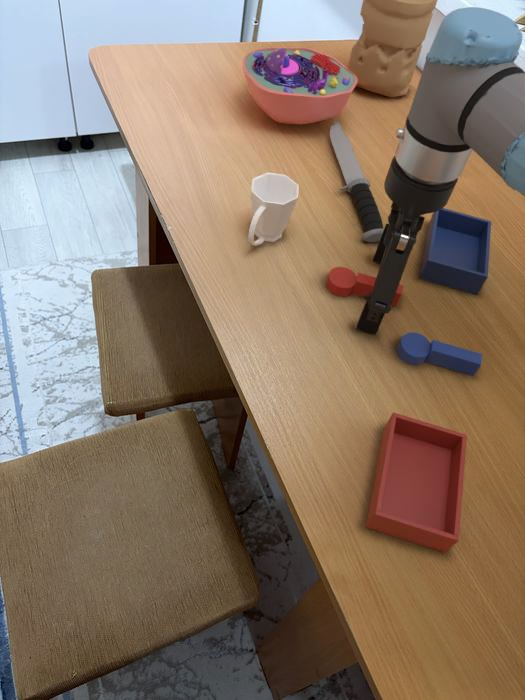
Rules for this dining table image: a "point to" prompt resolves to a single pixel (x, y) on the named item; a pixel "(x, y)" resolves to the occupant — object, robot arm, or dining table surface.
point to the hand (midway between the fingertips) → (374, 294)
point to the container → (390, 44)
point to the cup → (271, 206)
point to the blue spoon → (437, 354)
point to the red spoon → (354, 284)
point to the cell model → (298, 83)
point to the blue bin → (456, 251)
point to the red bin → (419, 483)
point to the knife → (357, 185)
